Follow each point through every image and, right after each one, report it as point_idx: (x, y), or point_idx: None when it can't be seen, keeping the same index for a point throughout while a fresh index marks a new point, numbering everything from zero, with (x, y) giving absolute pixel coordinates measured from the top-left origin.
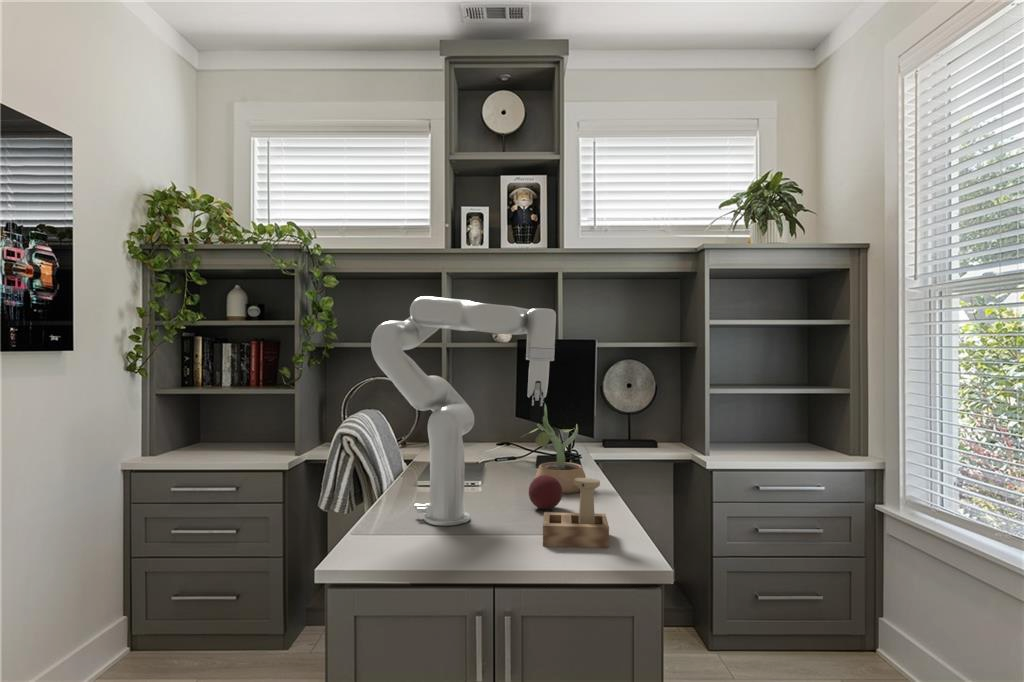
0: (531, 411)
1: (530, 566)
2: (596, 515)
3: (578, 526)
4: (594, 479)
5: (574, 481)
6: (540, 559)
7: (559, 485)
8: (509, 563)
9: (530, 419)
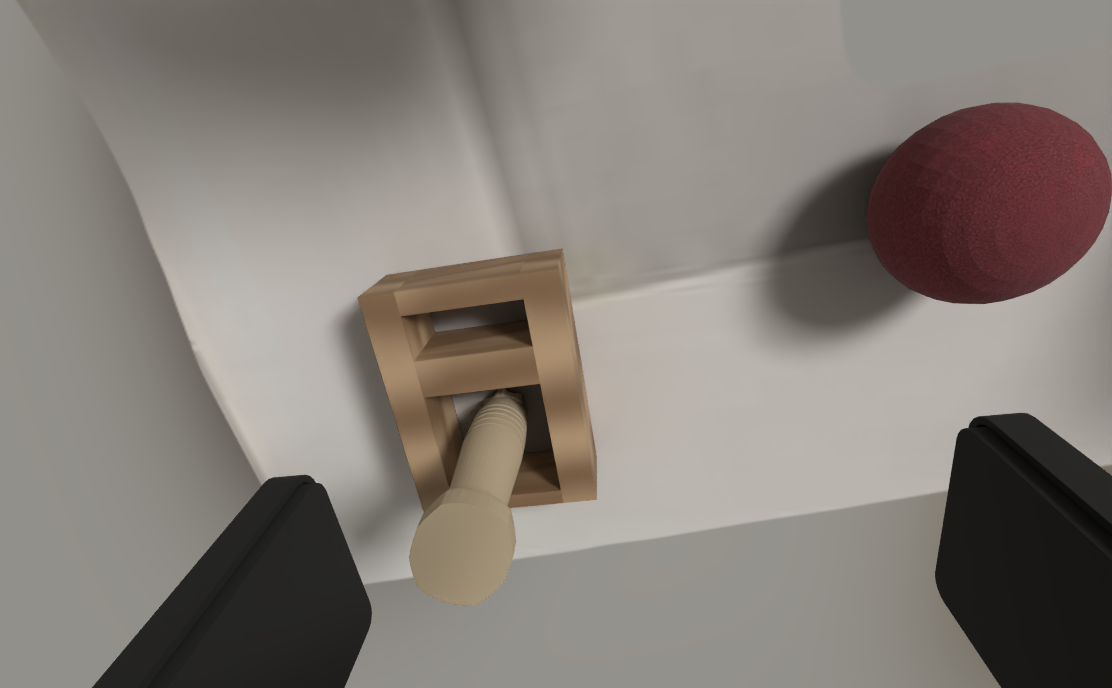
0: (167, 617)
1: (183, 270)
2: (563, 472)
3: (398, 423)
4: (489, 584)
5: (451, 497)
6: (256, 289)
7: (967, 300)
8: (173, 196)
9: (265, 485)
